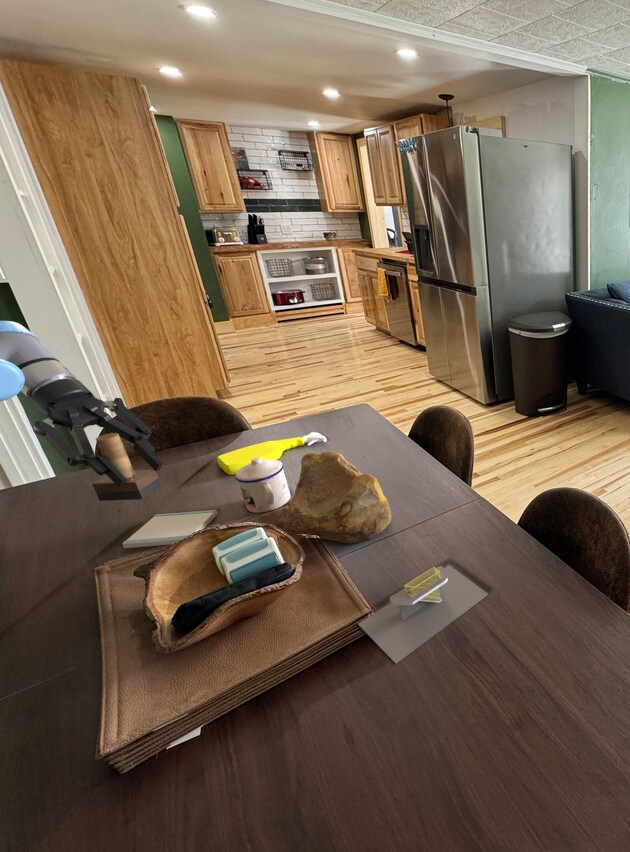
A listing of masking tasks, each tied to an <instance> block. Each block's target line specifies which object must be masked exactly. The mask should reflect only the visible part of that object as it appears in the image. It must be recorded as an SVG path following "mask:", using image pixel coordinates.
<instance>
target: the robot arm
mask: <svg viewBox="0 0 630 852" xmlns="http://www.w3.org/2000/svg"><path fill="white" fill-rule="evenodd" d="M19 393H22V394H24V395H25V397H26V398H28V399H30V401H31V402H32V403H33V404H34V406H36V407H37V408H38V409H39V411H41V412H42V414H44V415H45V416H46V418H45V419H43V420H36V421H35V422H34V425H33V428H32V432H34V433H35V434H37V435H39V436H41V437H43V438H44V439H45V440H46V441H47V442H48V443H49V444H50V445H51V446H52V447H53V448H54V450H55V451H56V452H57V453H58V454H59V455H60V456H61V457H62V458H63V459H64V460H65V462H66V463H67V464H68V465H69V466H71V467H77V466H78V465H83V466H85V467H89V468H90V469H92V470H93V471H94V472H95V473H96V475H99V476H104V475H105V476H106V475H107V476H108V477H109V478H110V479H111V480H112V481H113V482H114V483H115V484H116V485H117V486H118V487H121V486H123V485H124V483H125V481H126V478H125V477H124V476H123V475H122V474H121V473H120V472H119V471H118V470H117V469H116V468H115V467H114V466H113V465H112V464H111V463H110V462H109V461H108V460H107V459H106V458H105V457H104V456H103V455H102V453H101V454H99V455H96V454H95V451H94V449H93V447H92V445H91V442H90V440H89V438H88V435H87V433H86V431H85V429H86V428H88V427H89V426H91V427H92V426H97V427H100V428H103V429H106V430H107V431H109V432H111V433H118V434H119V436H120V438H121V439H124V440H126V441H127V442H129V443H131V444H133V446H132V450H134V451H135V453H136V454H138V456H139V457H141V459H142V460H143V461H145V462H146V463H147V465H149V466H150V468H152V470H155V471H156V472H158V471H160V470H161V468H162V466H163V464H164V462H163V461H162V460H161V459H160V458H159V457H158V456H157V455H155V452H156V449H155V448H156V447H154V446H153V445H152V444H151V443H150V442H149V441H148V440H149V438H150V436H151V434H152V429H151V428H150V427H149V426H148V425H146V423H145V422H143V420H141V419H140V418H139V417H138V416H137V415H135V413H134V412H132V411H131V410H130V409H129V408H128V407H127V406H126V405H125V403H124V401H123V399H122V398H121V397H115V398H114V399H113V400H107V401H104V400H103V399H100V398H98V397H96V396H95V394H94V393H93V392H92V391H91V390H90V389H88V387H86V385H84V384H83V382H82V381H81V380H80V379H78V378H77V377H76V375H75V374H73V372H72V371H71V370H70V369H69V368H67V367H66V365H64V364H63V363H62V362H61V361H60V360H59V359H58V358H57V357H56V356H55V355H54V354H53V353H52V352H51V351H50V350H49V348H48V347H46V346H45V344H44V343H42V342H41V340H40V338H38V337H37V336H36V335H35V334H34V333H32V332H31V331H30V330H29V329H28V328H27V327H25V326H23V325H22V324H21V323H19V322H16V321H11V320H0V402H4V401H7V400H10V399H12V398H14V397H15V396H17V395H18V394H19ZM105 409H108V410H109V411H110V412H111V413H114V414H115V416H117V417H118V418H119V419H120V420H121V421H122V422H123V423H122V422H120V420H119V421H118V420H117V419H115V418H113V417H112V416H111V415H110V414H109V413H108V412H106V411H105ZM56 425H57V426H59V427H63V428H66V429H68V431H69V434H70V436H71V437H72V438H73V440H74V441H73V442H74V443H75V446H76V447H77V450H78V452H79V453H78V452H77V450H76V449H75V448H74V447H73V446H72V445H71V444H70V443H69V442H68V441H67V440H66V438H65V437H64V436H63V435H62V434H61V433H60V432H59V431H58V429H56V427H55V426H56Z"/></svg>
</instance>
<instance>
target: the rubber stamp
mask: <svg viewBox="0 0 630 852" xmlns="http://www.w3.org/2000/svg"><path fill="white" fill-rule="evenodd" d="M95 441H96V443H97V445H98V447H99V449H100V452H101V454H102V455H103V456H104V457H105V458H106V459H107V460H108V461H109V462H110V463H111V464H112V465H113V466H114V467H115V468H116V469H117V470H118V471H119V472H120V473H121V474H122V475H123V476H124V477H125V478H126V481H125V483H124V485H123V486H121V487H118V486H117V485H116V484H115V483H114V482H113V481H112V480H111V479H110V478H109V477H108V476H107V475H106V474H105V475H103V476H102V477H100V478H99V479H97V480H95V481H94V482H92V483H91V485H92V487H93V490H94V492H95V494H96V497H97V498H98V501H102V502H103V501H106V502H107V501H135V500H138V501H139V500H144V499H146V498H147V497H148V496H149V495H151V494H152V493H154V492H156V491H157V490H158V489H159V488H161V487H162V483H161V480H160V478H159V476H158V474H157V471H155V470H154V469H134V467H133V464H132V463H131V460H130V458H129V455H128V453H127V451H126V448H125V445H124V443H123V441H122V437H120V436H119V434H118V433H113V432H111V433H105V434H101V435H99V436H97V437H96V438H95Z"/></svg>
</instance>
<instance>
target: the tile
mask: <svg viewBox="0 0 630 852" xmlns="http://www.w3.org/2000/svg"><path fill="white" fill-rule="evenodd" d="M218 515H219V513H218V510H217V509H209V510H195V511H184V512H181V511H180V512H170V513H169V512H168V513H158V514H154V515H153V517H152V518H150V519H149V520H148V521H146V523H145V524H143V525H142V526H141V527H140V528H139V529H137V530H136V531H135V532H134V533H133V534H132V535H130V536H129V537H128V538H127V539H126V540H124V541H123V542H122V544H121V545H122V547H123V549H134V548H146V547H156V546H157V547H158V546H168V545H170V546H171V545H176V544H175V543H177V542H178V541H180V540H182V539H184V538H186V537H188V536H189V535H191V534H192V533H194V532H197V531H199V530H202V529H203V530H204V529H205V528H206V527H207V526H208V525H209V524H210V523H211V522H212V521H213V520H214V519H215V518H216V517H217V516H218ZM203 530H202V531H203Z"/></svg>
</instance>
